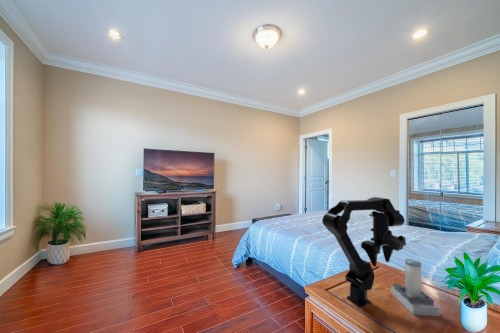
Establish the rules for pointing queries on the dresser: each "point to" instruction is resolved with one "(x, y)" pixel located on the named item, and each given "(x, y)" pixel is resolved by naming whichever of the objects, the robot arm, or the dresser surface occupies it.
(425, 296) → the digital kitchen scale
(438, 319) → the dresser surface
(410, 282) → the lidded container
